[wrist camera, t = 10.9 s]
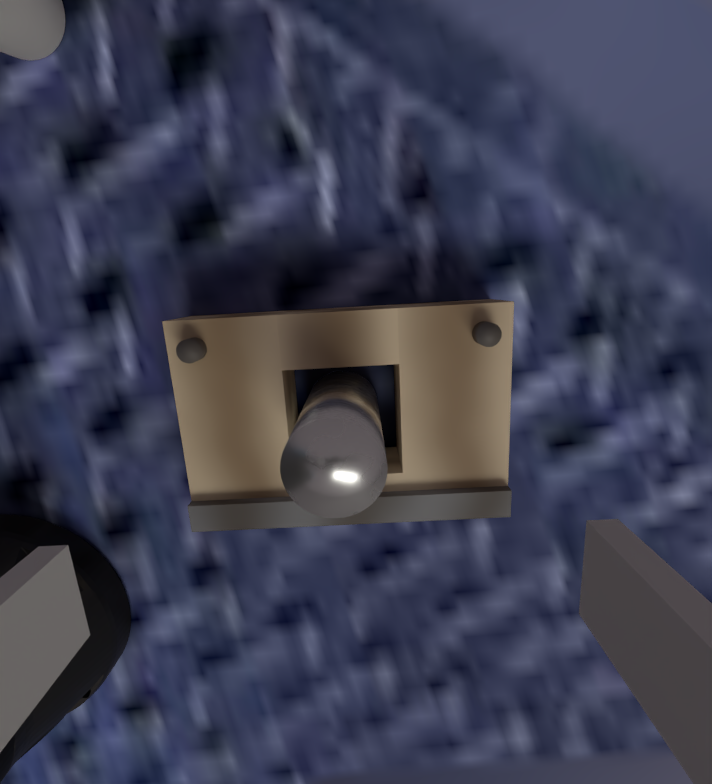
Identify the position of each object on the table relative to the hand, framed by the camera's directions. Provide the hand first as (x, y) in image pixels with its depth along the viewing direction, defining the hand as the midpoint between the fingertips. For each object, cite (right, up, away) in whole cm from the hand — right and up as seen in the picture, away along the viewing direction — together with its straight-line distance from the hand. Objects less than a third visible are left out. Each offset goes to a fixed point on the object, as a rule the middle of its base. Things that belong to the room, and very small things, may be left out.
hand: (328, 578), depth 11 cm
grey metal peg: (0, +4, +16) cm, 17 cm away
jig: (0, +4, +16) cm, 17 cm away
